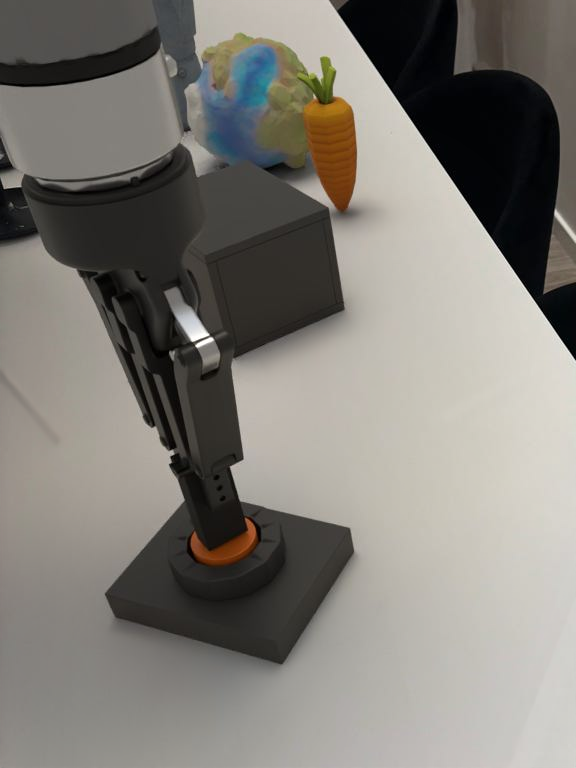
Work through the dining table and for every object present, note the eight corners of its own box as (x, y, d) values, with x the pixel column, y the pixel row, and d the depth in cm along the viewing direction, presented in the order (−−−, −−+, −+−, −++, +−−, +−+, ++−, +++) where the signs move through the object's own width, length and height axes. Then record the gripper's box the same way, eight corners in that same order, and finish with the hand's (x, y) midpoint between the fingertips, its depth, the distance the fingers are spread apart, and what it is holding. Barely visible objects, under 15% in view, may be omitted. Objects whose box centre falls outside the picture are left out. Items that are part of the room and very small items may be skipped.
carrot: (340, 227, 98) (317, 73, 88) (309, 213, 101) (282, 63, 90) (376, 209, 101) (357, 58, 90) (344, 197, 103) (322, 48, 93)
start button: (184, 571, 60) (177, 551, 59) (218, 528, 63) (212, 508, 61) (240, 585, 59) (234, 566, 58) (272, 541, 61) (267, 522, 60)
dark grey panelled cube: (159, 298, 89) (129, 199, 83) (267, 255, 94) (247, 159, 88) (231, 358, 82) (204, 255, 75) (345, 308, 87) (329, 207, 80)
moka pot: (194, 143, 116) (147, -44, 102) (107, 121, 122) (52, -59, 108) (248, 116, 121) (211, -65, 108) (163, 96, 128) (118, -78, 114)
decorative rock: (157, 26, 99) (292, 39, 96) (233, 30, 112) (353, 41, 109) (166, 169, 105) (293, 185, 102) (237, 156, 119) (350, 170, 116)
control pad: (114, 617, 61) (94, 573, 58) (200, 513, 67) (185, 470, 65) (282, 664, 57) (269, 621, 55) (354, 551, 64) (346, 507, 61)
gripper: (249, 174, 41) (332, 561, 57) (120, 97, 49) (225, 458, 65) (82, 232, 38) (220, 626, 54) (-29, 140, 45) (121, 509, 61)
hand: (223, 534), depth 59 cm, fingers closed
